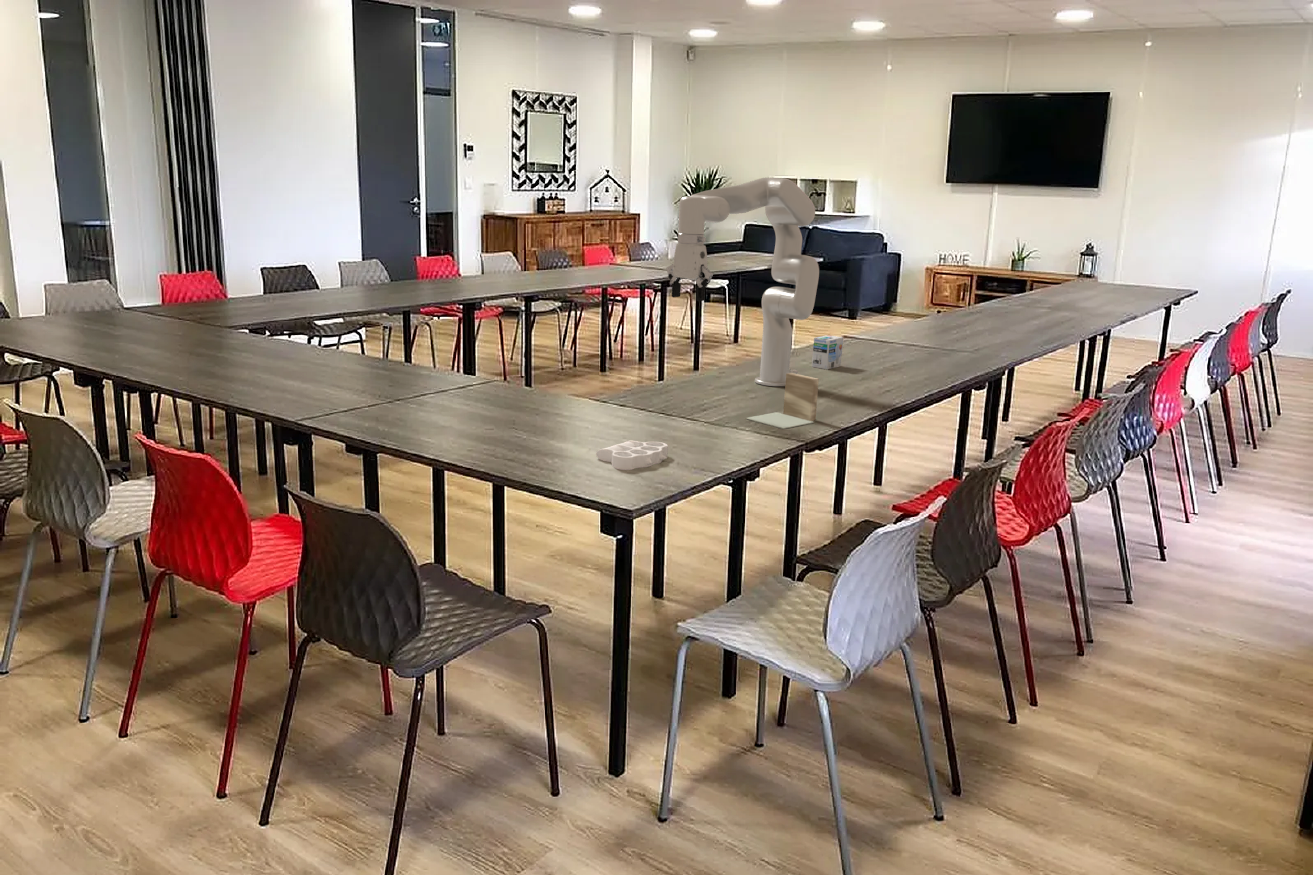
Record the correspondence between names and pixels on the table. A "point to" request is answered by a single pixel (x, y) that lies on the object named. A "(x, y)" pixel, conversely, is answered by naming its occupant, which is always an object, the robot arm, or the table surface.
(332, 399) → the table surface
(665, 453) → the white muffin tray
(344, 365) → the table surface
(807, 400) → the birch tile
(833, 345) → the light bulb box
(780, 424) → the mat
